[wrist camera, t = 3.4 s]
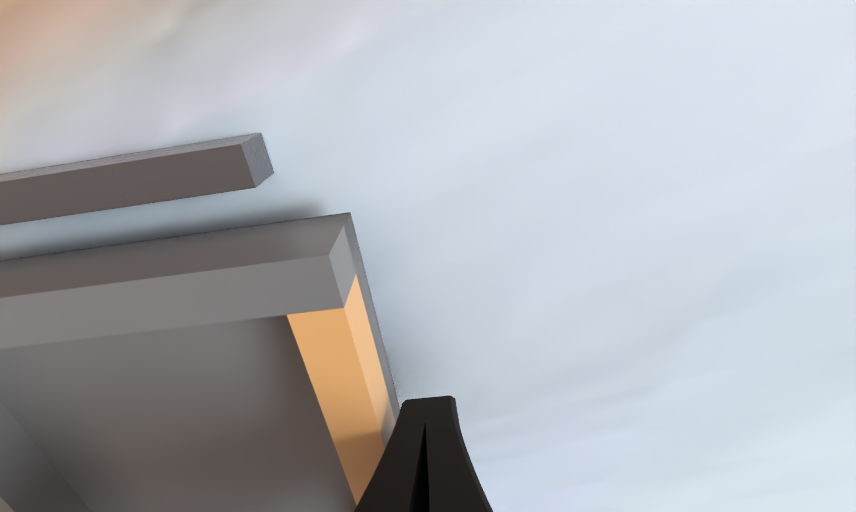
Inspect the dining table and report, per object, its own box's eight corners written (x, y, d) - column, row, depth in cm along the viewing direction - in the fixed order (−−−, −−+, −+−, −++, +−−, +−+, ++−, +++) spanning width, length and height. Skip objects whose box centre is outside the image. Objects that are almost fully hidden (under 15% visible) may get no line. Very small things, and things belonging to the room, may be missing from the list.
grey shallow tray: (429, 491, 16) (427, 592, 13) (138, 514, 17) (76, 612, 14) (358, 196, 11) (328, 254, 8) (-56, 254, 12) (-217, 326, 9)
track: (387, 523, 17) (384, 555, 16) (-87, 557, 19) (-118, 588, 18) (261, 133, 10) (240, 143, 9) (-466, 248, 12) (-551, 268, 11)
